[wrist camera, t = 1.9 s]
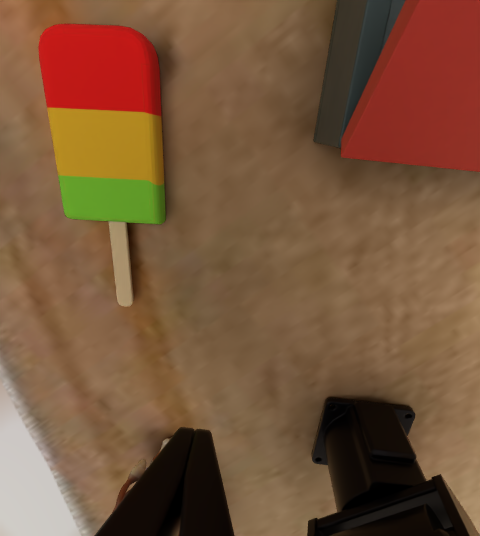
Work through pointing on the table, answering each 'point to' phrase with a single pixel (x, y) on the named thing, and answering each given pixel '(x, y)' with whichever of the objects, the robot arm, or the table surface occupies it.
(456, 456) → the table surface
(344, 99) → the open rectangular box
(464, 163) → the lid
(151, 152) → the popsicle
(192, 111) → the table surface
